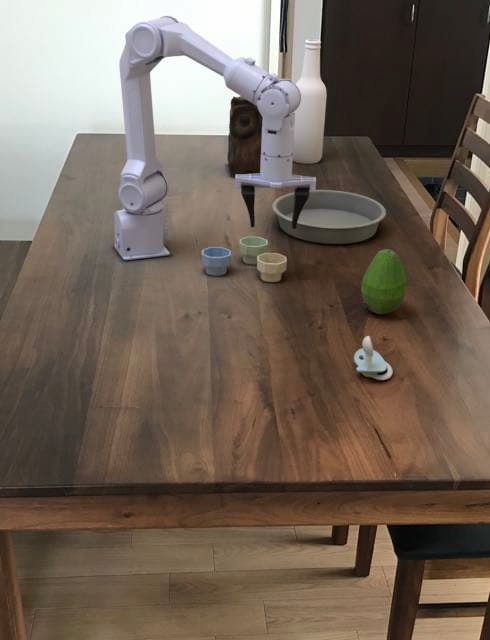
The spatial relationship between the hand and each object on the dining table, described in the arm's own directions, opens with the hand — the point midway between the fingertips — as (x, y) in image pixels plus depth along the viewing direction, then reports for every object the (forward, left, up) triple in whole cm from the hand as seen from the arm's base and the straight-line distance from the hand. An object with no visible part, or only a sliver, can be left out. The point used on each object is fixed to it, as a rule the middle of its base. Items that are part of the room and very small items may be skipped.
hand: (273, 226), depth 166 cm
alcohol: (+40, +70, -11) cm, 81 cm away
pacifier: (+1, -39, -11) cm, 40 cm away
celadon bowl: (0, +9, -10) cm, 14 cm away
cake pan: (+23, +22, -11) cm, 34 cm away
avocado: (+13, -20, -11) cm, 26 cm away
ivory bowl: (0, 0, -10) cm, 10 cm away
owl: (+21, +65, -11) cm, 69 cm away
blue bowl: (-9, +6, -10) cm, 15 cm away
